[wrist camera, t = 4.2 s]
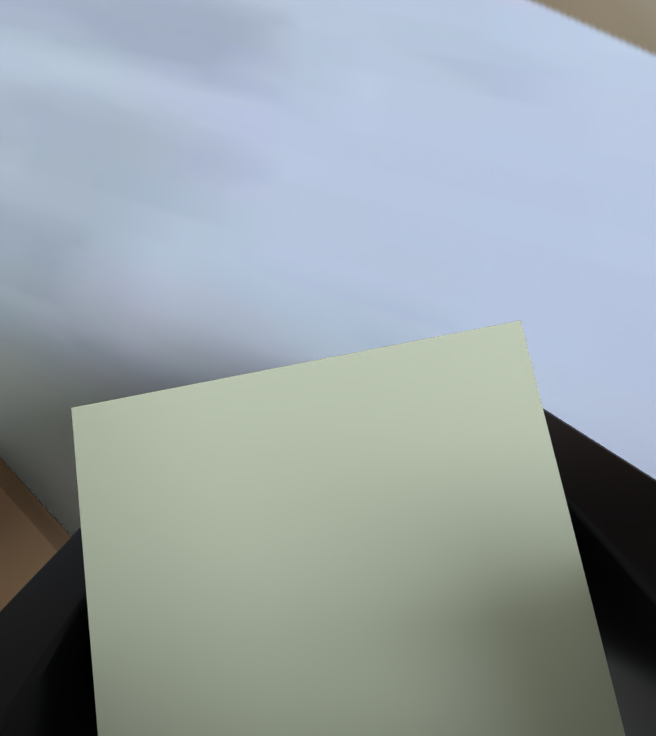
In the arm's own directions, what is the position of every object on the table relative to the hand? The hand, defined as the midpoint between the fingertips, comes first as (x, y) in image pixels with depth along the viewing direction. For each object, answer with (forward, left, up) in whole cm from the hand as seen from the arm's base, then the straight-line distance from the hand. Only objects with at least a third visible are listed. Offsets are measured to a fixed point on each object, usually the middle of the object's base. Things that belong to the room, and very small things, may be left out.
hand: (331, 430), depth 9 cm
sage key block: (-1, 0, -7) cm, 7 cm away
